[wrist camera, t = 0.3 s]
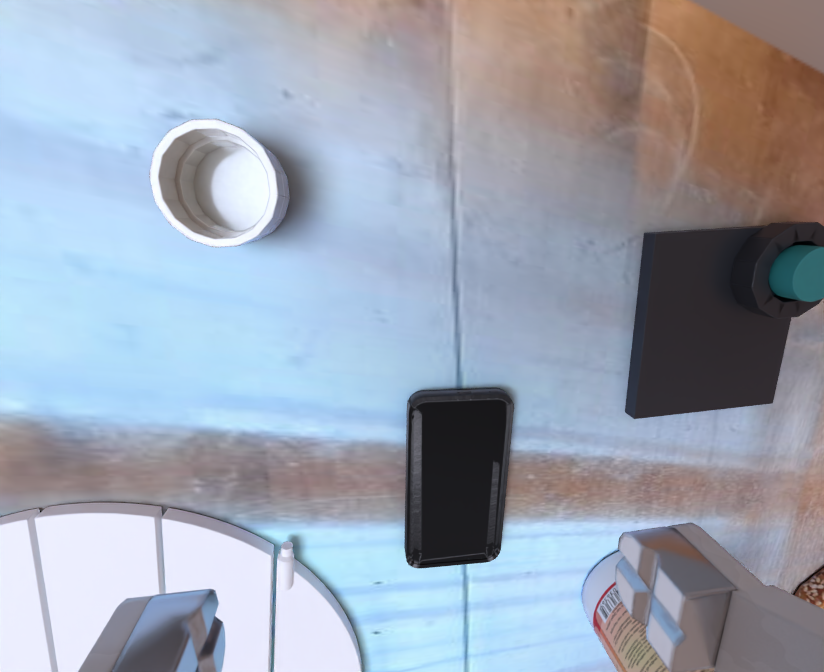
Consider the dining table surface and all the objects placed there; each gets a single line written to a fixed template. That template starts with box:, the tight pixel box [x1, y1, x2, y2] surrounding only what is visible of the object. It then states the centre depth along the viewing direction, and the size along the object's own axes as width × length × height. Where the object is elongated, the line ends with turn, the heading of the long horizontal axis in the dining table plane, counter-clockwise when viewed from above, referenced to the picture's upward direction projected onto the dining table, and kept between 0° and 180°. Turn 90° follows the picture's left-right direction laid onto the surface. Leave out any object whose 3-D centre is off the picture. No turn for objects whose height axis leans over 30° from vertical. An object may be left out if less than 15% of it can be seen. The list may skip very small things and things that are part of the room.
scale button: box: [769, 245, 824, 302], centre depth 28 cm, size 4×4×2 cm
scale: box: [625, 222, 824, 419], centre depth 31 cm, size 14×13×3 cm
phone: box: [405, 388, 514, 568], centre depth 33 cm, size 8×1×15 cm
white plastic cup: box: [149, 119, 290, 247], centre depth 23 cm, size 6×6×4 cm
